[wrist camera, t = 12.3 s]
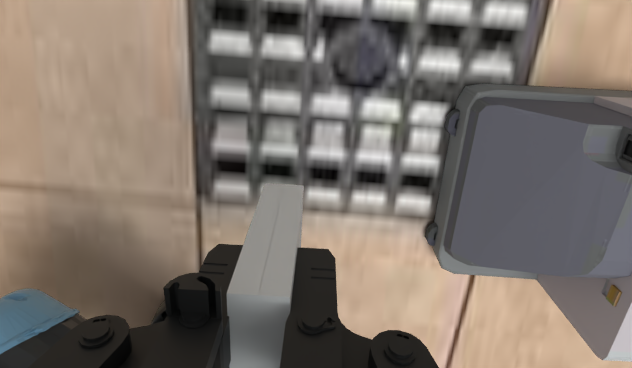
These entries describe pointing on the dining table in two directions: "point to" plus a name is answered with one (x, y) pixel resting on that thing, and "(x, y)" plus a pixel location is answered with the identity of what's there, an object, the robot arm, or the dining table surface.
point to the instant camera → (544, 200)
